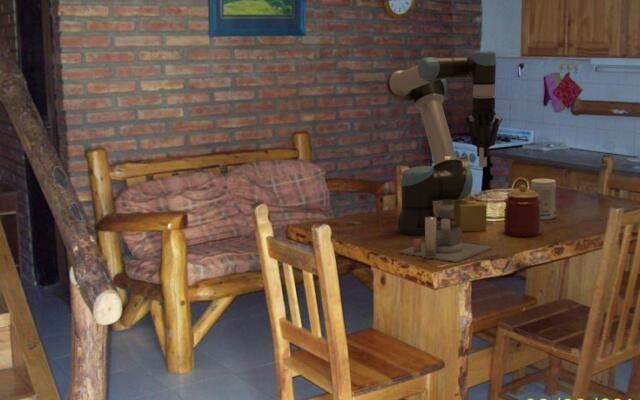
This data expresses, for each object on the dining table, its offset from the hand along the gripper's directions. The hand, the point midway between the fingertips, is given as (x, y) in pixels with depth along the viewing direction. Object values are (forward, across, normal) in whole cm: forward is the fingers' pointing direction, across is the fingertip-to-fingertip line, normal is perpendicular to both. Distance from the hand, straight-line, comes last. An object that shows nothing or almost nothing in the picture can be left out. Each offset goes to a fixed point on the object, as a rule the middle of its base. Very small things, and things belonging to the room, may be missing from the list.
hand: (482, 166), depth 301 cm
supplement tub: (+27, +1, -49) cm, 56 cm away
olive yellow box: (+27, +14, -16) cm, 34 cm away
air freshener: (+27, +30, -28) cm, 49 cm away
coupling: (+25, +3, +23) cm, 34 cm away
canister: (+27, -5, -20) cm, 34 cm away
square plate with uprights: (+26, +3, +19) cm, 33 cm away
